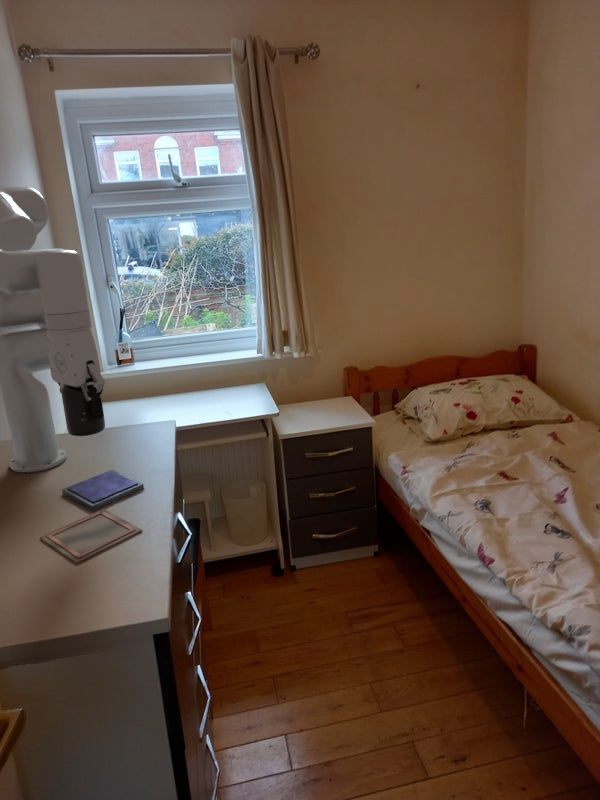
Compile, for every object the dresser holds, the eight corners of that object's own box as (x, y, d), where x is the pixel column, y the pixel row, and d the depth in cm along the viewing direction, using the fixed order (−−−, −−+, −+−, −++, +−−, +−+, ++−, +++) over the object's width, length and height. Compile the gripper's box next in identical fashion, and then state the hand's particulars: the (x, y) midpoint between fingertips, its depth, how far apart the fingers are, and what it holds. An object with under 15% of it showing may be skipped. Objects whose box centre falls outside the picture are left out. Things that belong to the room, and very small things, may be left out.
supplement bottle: (94, 437, 103) (84, 374, 100) (60, 436, 105) (49, 374, 101) (112, 424, 110) (103, 364, 106) (80, 424, 111) (70, 365, 108)
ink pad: (62, 494, 120) (61, 488, 119) (112, 474, 128) (111, 468, 128) (93, 511, 112) (91, 504, 112) (143, 488, 121) (143, 482, 120)
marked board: (40, 539, 103) (39, 536, 103) (103, 510, 112) (103, 507, 112) (77, 564, 95) (76, 561, 95) (142, 531, 104) (142, 528, 104)
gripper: (24, 321, 104) (42, 413, 109) (74, 328, 93) (91, 430, 98) (62, 315, 109) (78, 403, 114) (114, 321, 98) (128, 418, 104)
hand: (84, 415), depth 106 cm, fingers closed on supplement bottle, 6 cm apart
